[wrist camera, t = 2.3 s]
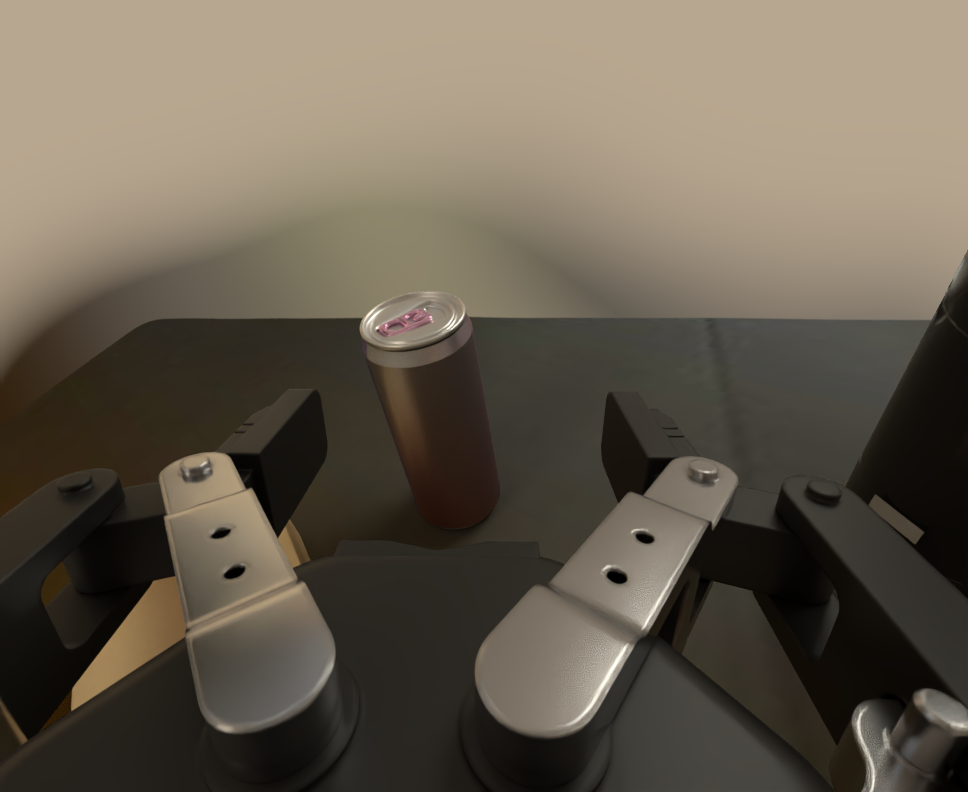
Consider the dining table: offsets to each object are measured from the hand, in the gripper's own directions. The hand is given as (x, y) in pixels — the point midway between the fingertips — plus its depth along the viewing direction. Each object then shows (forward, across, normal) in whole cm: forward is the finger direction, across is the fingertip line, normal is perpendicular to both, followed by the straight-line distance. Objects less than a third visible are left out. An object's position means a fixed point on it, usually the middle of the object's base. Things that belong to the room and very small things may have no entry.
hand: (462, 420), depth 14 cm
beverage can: (+16, +1, +15) cm, 22 cm away
